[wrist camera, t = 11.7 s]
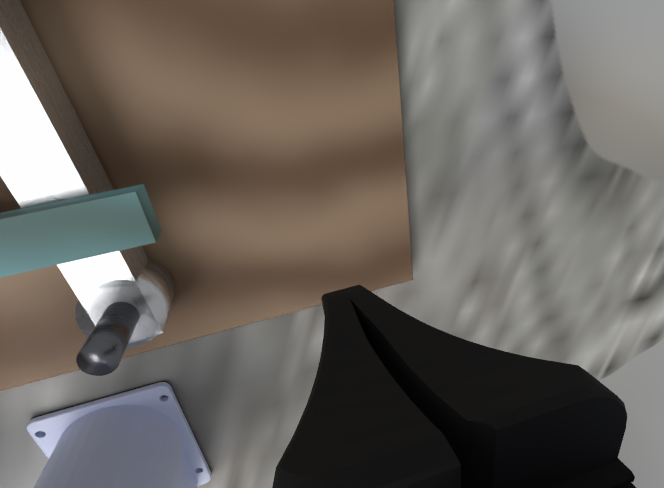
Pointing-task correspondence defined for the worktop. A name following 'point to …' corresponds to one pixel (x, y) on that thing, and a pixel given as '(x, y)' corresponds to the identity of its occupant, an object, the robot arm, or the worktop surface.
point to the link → (66, 183)
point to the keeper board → (214, 165)
